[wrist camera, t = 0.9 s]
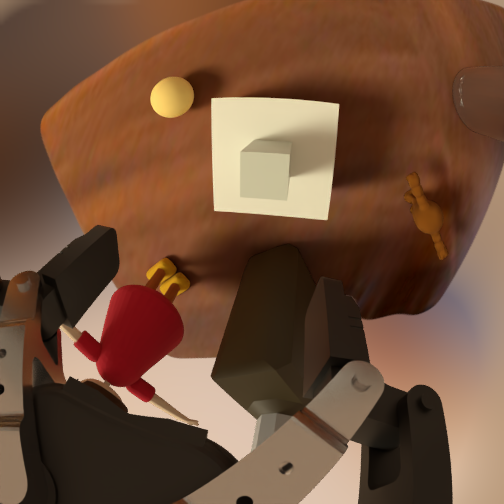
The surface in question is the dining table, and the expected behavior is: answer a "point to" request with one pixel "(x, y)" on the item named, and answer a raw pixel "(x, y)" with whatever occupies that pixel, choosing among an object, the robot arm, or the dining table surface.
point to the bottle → (267, 340)
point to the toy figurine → (425, 213)
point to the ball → (172, 97)
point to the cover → (273, 156)
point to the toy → (136, 337)
